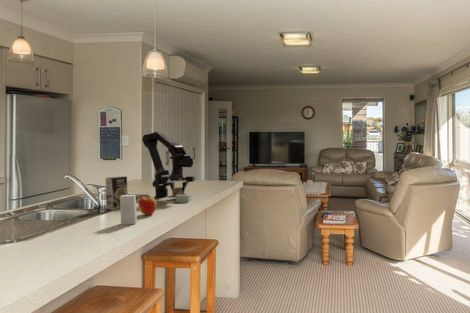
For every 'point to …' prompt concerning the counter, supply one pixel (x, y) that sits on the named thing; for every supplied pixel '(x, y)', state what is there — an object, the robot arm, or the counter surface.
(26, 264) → the counter surface
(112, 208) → the coffee box
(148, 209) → the apple
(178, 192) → the walnut cube
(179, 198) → the base block
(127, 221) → the skincare box
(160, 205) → the counter surface
